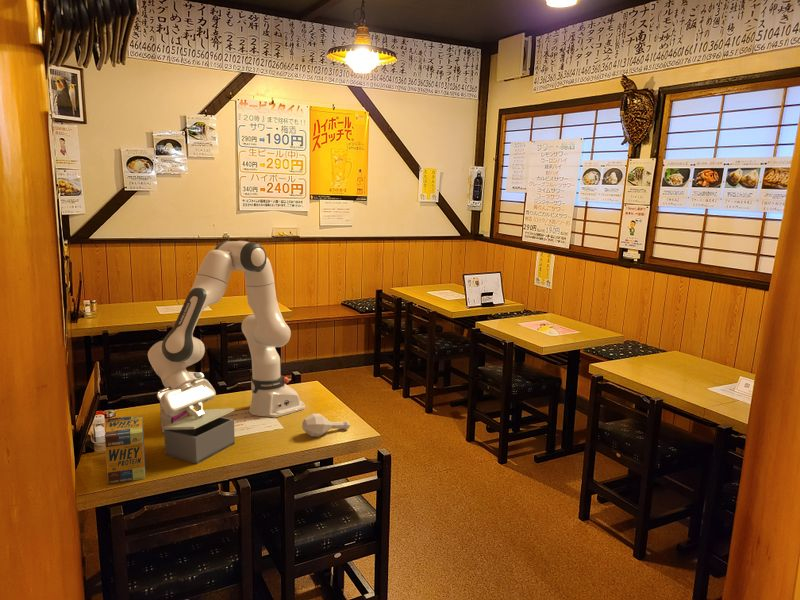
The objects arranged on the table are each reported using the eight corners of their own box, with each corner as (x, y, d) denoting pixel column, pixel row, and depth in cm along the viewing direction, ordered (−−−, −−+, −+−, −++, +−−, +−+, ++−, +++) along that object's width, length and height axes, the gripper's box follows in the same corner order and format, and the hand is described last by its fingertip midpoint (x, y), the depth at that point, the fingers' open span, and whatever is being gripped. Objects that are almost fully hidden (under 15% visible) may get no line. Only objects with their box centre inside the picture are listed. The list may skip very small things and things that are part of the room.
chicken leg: (353, 436, 217) (353, 413, 220) (309, 436, 208) (309, 412, 210) (343, 437, 224) (343, 415, 226) (299, 437, 214) (300, 414, 217)
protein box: (107, 485, 176) (104, 436, 173) (110, 463, 190) (107, 418, 187) (145, 479, 180) (142, 431, 177) (145, 458, 194) (142, 414, 191)
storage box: (165, 454, 196) (164, 429, 195) (204, 435, 212) (203, 412, 211) (196, 464, 190) (195, 438, 189) (234, 443, 206) (233, 419, 205)
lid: (163, 429, 194) (162, 427, 194) (204, 411, 211) (204, 409, 211) (194, 429, 188) (193, 426, 188) (234, 410, 204) (234, 408, 204)
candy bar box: (177, 422, 224) (175, 381, 221) (189, 423, 223) (187, 382, 220) (160, 433, 213) (158, 390, 210) (172, 434, 212) (170, 391, 210)
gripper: (159, 386, 190) (181, 421, 188) (205, 371, 208) (226, 403, 206) (150, 397, 193) (171, 431, 190) (196, 381, 211) (217, 412, 208)
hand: (200, 416), depth 198 cm, fingers closed, pressing on lid
